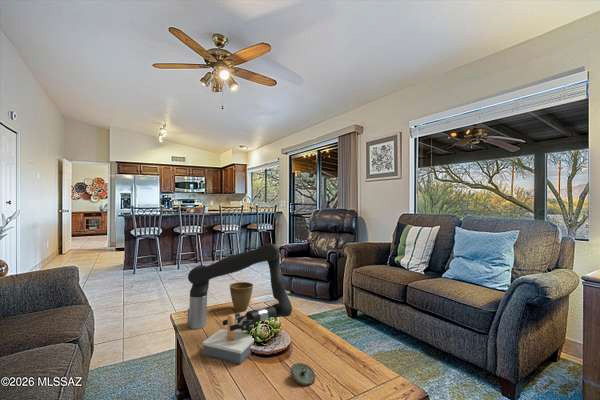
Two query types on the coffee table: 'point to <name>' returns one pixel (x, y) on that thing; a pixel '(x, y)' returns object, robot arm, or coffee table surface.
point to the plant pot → (241, 295)
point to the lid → (302, 374)
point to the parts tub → (227, 354)
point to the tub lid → (229, 339)
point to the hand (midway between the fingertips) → (226, 325)
